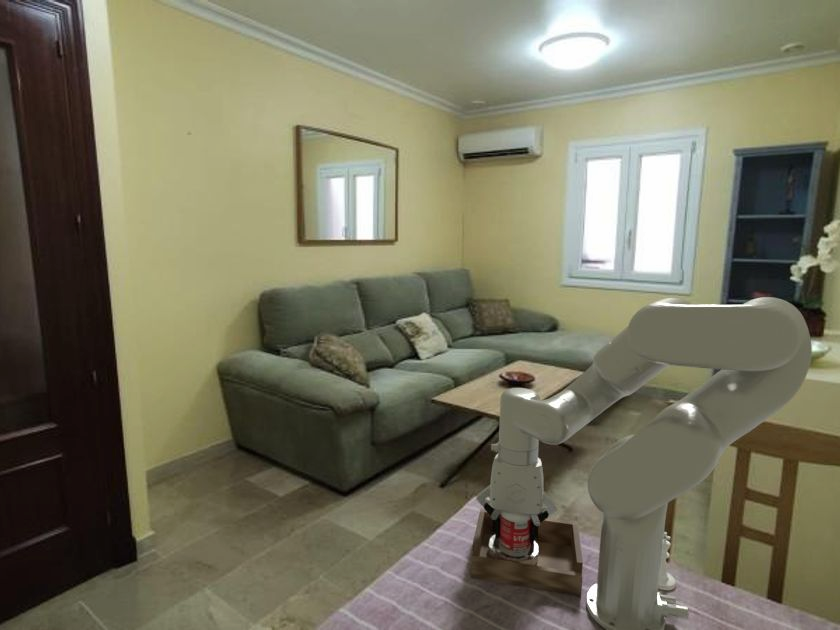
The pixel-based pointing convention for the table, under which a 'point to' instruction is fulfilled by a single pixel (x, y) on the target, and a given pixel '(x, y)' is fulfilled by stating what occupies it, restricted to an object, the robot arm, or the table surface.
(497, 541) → the collar
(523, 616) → the table surface
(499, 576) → the walled box
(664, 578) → the chess piece
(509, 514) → the pill bottle
